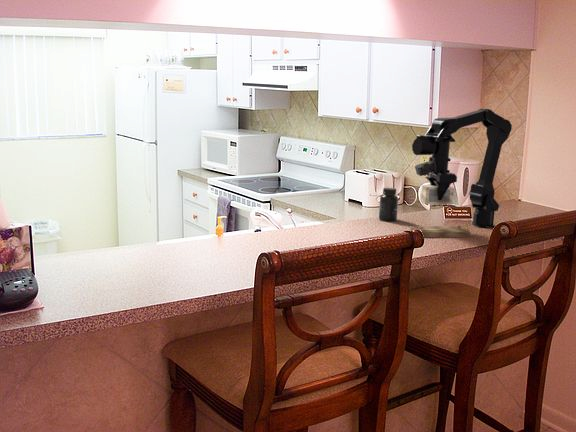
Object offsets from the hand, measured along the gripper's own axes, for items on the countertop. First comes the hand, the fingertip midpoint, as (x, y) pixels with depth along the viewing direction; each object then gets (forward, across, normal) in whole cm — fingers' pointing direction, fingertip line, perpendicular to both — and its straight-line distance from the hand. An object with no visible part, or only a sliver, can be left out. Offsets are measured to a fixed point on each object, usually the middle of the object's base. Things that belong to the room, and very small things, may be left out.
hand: (437, 198), depth 240 cm
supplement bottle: (+11, -17, -12) cm, 24 cm away
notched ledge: (+11, +6, 0) cm, 13 cm away
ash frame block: (+2, 0, 0) cm, 2 cm away
